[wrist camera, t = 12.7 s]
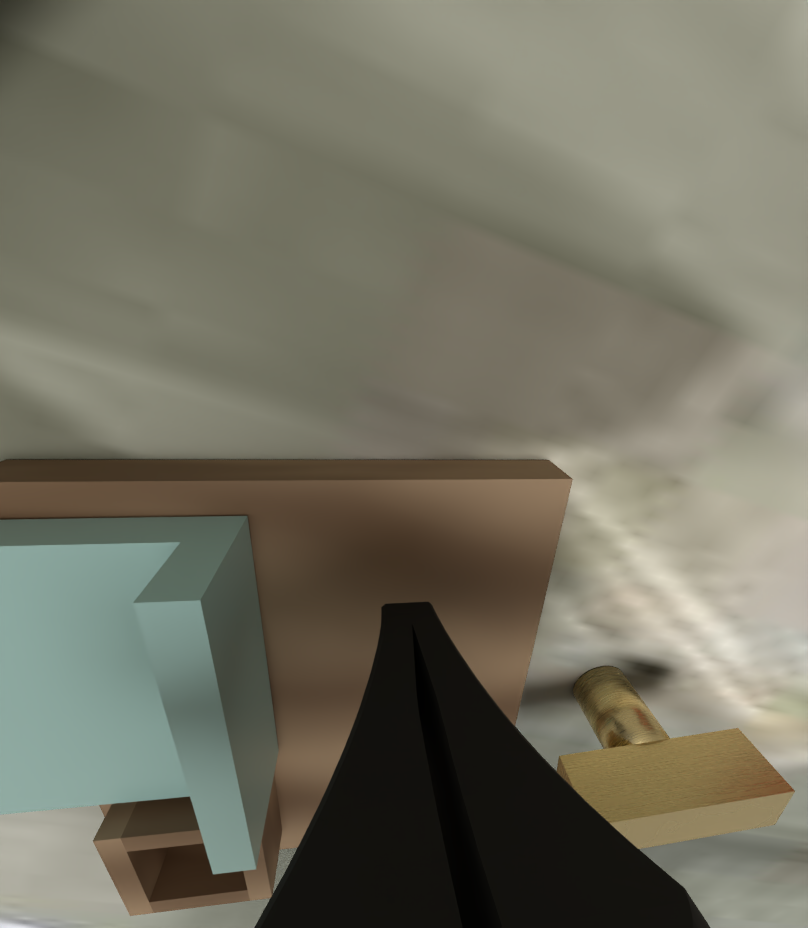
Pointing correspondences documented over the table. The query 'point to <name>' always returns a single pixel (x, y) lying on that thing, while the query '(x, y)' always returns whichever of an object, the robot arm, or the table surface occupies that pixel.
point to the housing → (321, 611)
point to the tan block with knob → (666, 771)
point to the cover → (137, 672)
